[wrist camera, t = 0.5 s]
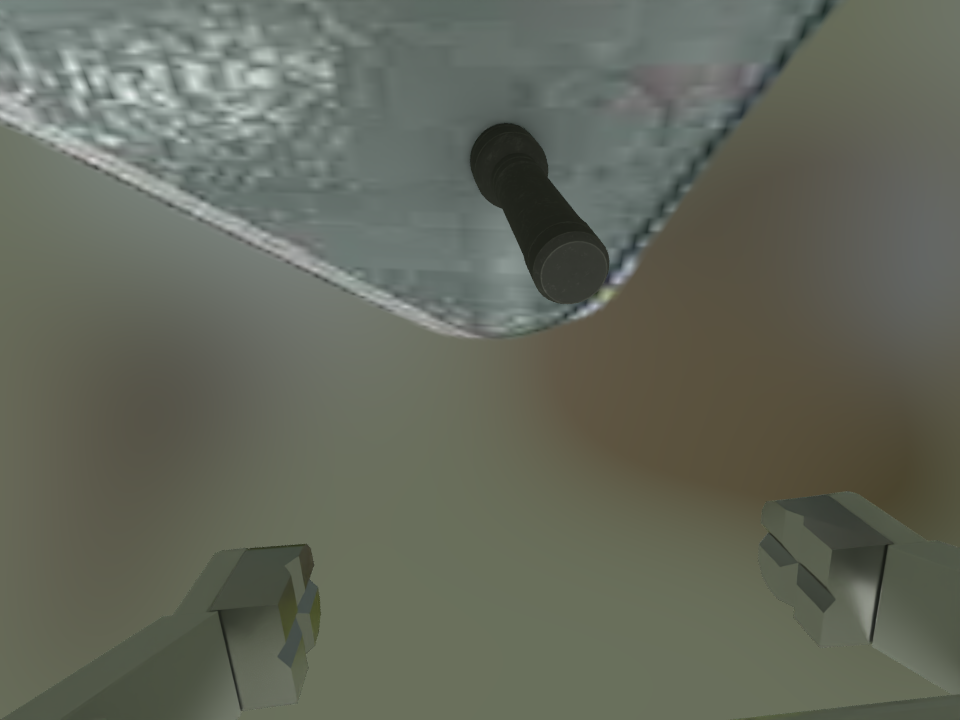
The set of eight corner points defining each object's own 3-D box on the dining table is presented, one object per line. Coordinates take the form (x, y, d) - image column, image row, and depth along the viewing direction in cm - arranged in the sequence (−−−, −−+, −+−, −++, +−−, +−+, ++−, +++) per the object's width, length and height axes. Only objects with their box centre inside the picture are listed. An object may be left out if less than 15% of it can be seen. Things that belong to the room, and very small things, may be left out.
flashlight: (478, 202, 57) (543, 186, 57) (525, 337, 33) (636, 311, 33) (463, 133, 53) (533, 115, 53) (504, 231, 30) (629, 200, 29)
